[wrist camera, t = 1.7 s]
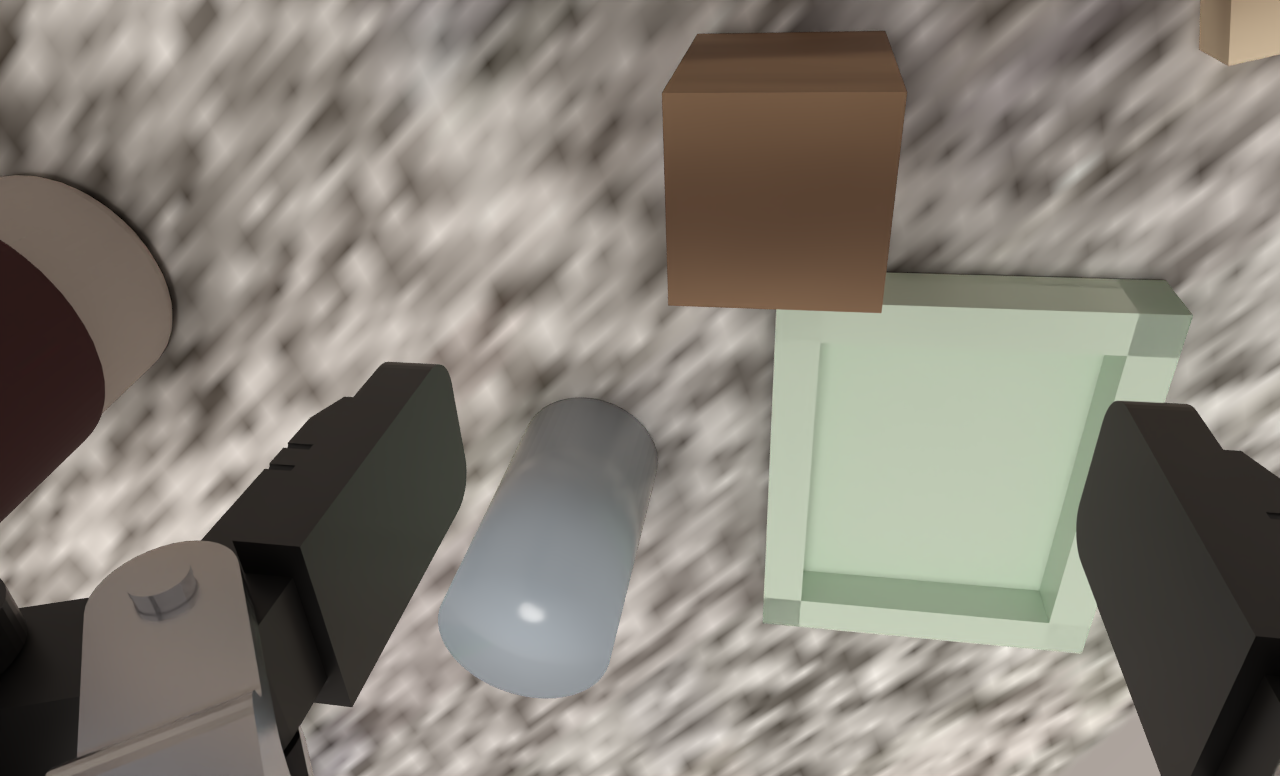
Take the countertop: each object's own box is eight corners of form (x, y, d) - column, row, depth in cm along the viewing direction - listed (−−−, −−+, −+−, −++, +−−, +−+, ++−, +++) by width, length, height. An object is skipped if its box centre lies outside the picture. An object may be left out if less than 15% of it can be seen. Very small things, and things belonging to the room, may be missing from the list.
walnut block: (697, 33, 21) (662, 93, 16) (884, 30, 21) (907, 91, 16) (699, 207, 24) (668, 305, 19) (867, 210, 23) (881, 313, 18)
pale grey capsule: (515, 394, 28) (424, 565, 22) (655, 401, 27) (604, 582, 21) (531, 503, 31) (453, 688, 24) (659, 513, 30) (615, 707, 23)
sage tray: (779, 269, 24) (776, 301, 23) (1165, 280, 23) (1192, 315, 21) (765, 580, 31) (762, 623, 29) (1066, 606, 29) (1081, 653, 27)
